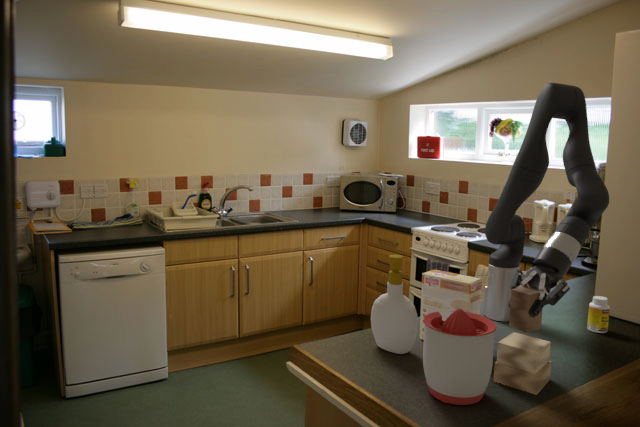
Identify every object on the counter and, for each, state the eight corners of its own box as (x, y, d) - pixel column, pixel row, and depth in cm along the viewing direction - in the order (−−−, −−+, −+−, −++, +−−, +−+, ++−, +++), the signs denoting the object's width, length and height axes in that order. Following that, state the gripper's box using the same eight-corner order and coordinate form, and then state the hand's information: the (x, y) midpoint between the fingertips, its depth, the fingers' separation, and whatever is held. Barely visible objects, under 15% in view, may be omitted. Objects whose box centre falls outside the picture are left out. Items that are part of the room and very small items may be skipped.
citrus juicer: (476, 374, 130) (480, 295, 127) (502, 411, 113) (508, 321, 110) (412, 374, 130) (415, 295, 127) (429, 411, 113) (433, 321, 110)
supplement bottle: (601, 335, 157) (604, 301, 156) (583, 329, 162) (586, 296, 160) (611, 331, 160) (614, 298, 159) (593, 325, 165) (596, 293, 163)
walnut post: (509, 326, 126) (511, 289, 125) (523, 322, 129) (525, 286, 127) (526, 332, 122) (529, 294, 121) (541, 328, 125) (543, 291, 123)
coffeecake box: (479, 346, 147) (483, 278, 144) (466, 354, 142) (470, 283, 139) (431, 332, 158) (434, 268, 155) (418, 339, 152) (421, 272, 149)
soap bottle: (425, 351, 144) (429, 257, 140) (406, 361, 137) (410, 262, 133) (382, 337, 153) (385, 248, 149) (362, 346, 147) (365, 253, 143)
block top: (496, 362, 126) (497, 342, 126) (512, 351, 133) (513, 332, 132) (535, 374, 120) (536, 353, 120) (549, 361, 127) (550, 341, 126)
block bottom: (493, 382, 127) (494, 362, 126) (508, 368, 135) (509, 349, 134) (536, 396, 121) (538, 375, 120) (550, 380, 128) (551, 361, 128)
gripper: (525, 240, 133) (489, 294, 128) (579, 251, 120) (540, 311, 116) (537, 258, 136) (502, 312, 132) (591, 271, 124) (554, 330, 120)
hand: (521, 311), depth 124 cm, fingers closed on walnut post, 5 cm apart
